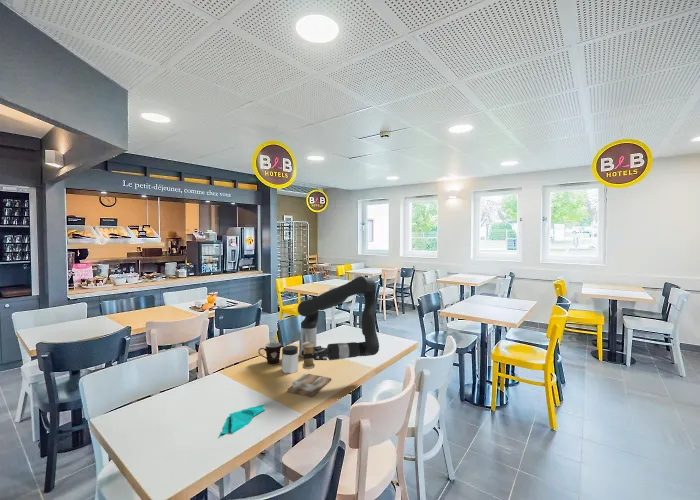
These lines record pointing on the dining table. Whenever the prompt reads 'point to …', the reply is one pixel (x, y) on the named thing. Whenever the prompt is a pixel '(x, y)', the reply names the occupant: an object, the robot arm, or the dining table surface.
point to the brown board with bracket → (308, 384)
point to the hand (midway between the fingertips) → (302, 354)
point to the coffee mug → (272, 352)
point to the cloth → (240, 419)
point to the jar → (289, 359)
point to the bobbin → (308, 349)
